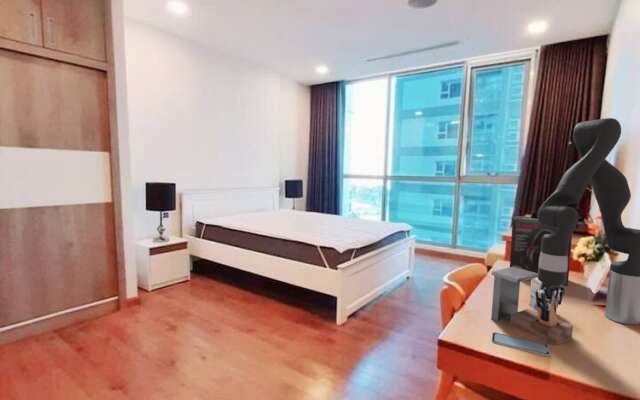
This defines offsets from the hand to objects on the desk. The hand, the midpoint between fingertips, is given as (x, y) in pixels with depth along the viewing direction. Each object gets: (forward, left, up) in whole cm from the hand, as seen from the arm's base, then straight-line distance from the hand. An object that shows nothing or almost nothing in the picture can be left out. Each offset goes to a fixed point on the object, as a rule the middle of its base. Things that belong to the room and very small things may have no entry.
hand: (548, 318), depth 107 cm
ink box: (-20, -12, -5) cm, 24 cm away
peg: (0, +1, -5) cm, 5 cm away
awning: (0, -12, -5) cm, 13 cm away
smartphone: (+14, -1, -6) cm, 15 cm away
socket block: (0, -2, -5) cm, 6 cm away
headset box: (-59, -33, -5) cm, 68 cm away
